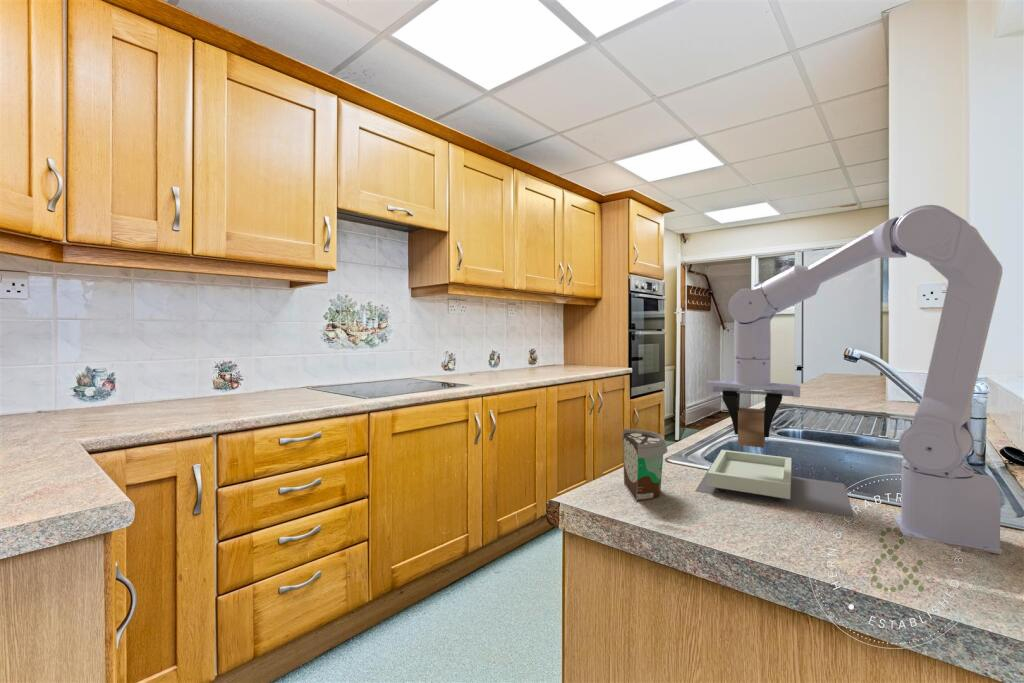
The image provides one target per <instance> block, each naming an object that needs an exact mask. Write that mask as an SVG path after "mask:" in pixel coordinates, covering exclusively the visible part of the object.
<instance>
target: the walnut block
mask: <svg viewBox="0 0 1024 683" xmlns="http://www.w3.org/2000/svg"><path fill="white" fill-rule="evenodd" d="M764 426H765V408H764V409H763V408H750V407H739V410H738V435H737V446H744V447H745V446H746V447H753V448H760V449H761V448H762V449H764V448H765V445H766V437H764Z"/></svg>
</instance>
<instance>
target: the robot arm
mask: <svg viewBox="0 0 1024 683" xmlns="http://www.w3.org/2000/svg"><path fill="white" fill-rule="evenodd" d="M907 254H910V255H912V256H914V257H916V258H919V259H921V260H924V261H926V262H927V263H929V265H930V266H931V267H932V268H933V269H935V270H936V271H937V272H938V273H939V274H941V276H943V278H945V279H946V280H947V282H948V283H947V287H946V292H945V296H944V301H943V305H942V310H941V314H940V319H939V323H938V326H937V331H936V334H935V335H936V336H935V340H934V345H933V349H932V353H931V357H930V363H929V366H928V371H927V376H926V380H925V383H924V384H925V385H924V388H923V393H922V397H921V399H920V401H919V404H918V405H917V408H916V410H915V412H914V416H913V420H912V423H911V424H910V426H909V427H908V428H906V430H904V431H903V432H902V434H901V435H900V437H899V440H898V447H899V452H900V454H901V455H902V457H903V459H902V460H901V500H900V501H901V504H900V506H901V507H900V508H901V510H900V514H897V513H896V514H893V518H894V519H895V520H894V521H895V522H896V524H897V526H898V529H899V530H900V532H901V534H902V535H903V536H904V537H909V538H915V539H920V540H927V541H932V542H938V543H945V544H951V545H956V546H961V547H967V548H972V549H978V550H985V551H986V552H987V553H990V554H997V555H1002V553H1003V552H1002V551H1003V550H1002V549H1001V516H1002V515H1001V512H1002V511H1001V509H1002V508H1001V505H1002V502H1001V495H1000V489H999V486H998V483H997V481H996V479H995V478H994V477H992V476H990V475H986V474H979V473H975V470H974V468H973V467H971V465H970V464H969V463H968V461H967V460H965V459H964V458H966V457H967V456H969V455H970V453H972V451H973V449H974V445H975V438H974V436H973V433H972V431H971V428H970V421H971V417H972V400H973V396H974V391H975V388H976V384H977V379H978V375H979V373H980V372H979V371H980V369H981V363H982V359H983V357H984V356H983V355H984V352H985V351H984V350H985V347H986V342H987V339H988V336H989V334H988V333H989V332H990V331H989V330H990V326H991V322H992V318H993V314H994V309H995V305H996V301H997V297H998V294H999V290H1000V284H1001V281H1002V277H1003V266H1002V264H1001V262H1000V261H999V259H998V258H997V256H996V255H995V254H994V253H993V251H992V249H991V248H990V246H989V245H988V244H987V243H986V241H985V240H984V238H983V237H982V235H981V234H980V233H979V230H978V229H977V228H976V227H974V226H973V225H971V224H970V223H969V222H968V221H967V220H966V219H964V218H963V217H961V216H959V215H958V214H956V213H954V212H953V211H952V210H950V209H948V208H946V207H944V206H941V205H938V204H925V205H919V206H916V207H913V208H911V209H909V210H908V211H906V212H904V213H903V214H902V215H901V216H900V217H899V216H895V217H892V218H890V219H887V220H886V221H884V222H882V223H880V224H879V225H877V226H876V227H874V228H873V229H870V230H869V231H868V232H866V233H864V234H862V235H861V236H858V237H857V238H855V239H854V240H852V241H850V242H848V243H847V244H845V245H843V246H842V247H840V248H838V249H837V250H835V251H833V252H831V253H830V254H828V255H826V256H824V257H822V258H821V259H819V260H817V261H816V262H814V263H812V264H810V265H808V266H806V265H801V264H794V265H793V266H791V265H788V264H787V265H784V266H783V267H781V268H780V269H779V270H780V273H778V274H776V275H774V276H772V277H771V278H769V279H767V280H764V281H757V282H756V283H754V284H753V286H754V288H753V289H752V288H741V289H739V290H738V291H737V292H736V293H734V294H733V295H732V296H731V297H730V299H729V301H728V306H727V307H728V308H727V309H728V313H729V316H730V317H731V319H733V320H734V321H733V322H734V326H733V327H734V329H733V346H734V347H733V357H734V358H733V360H734V361H733V364H734V365H733V372H734V374H733V380H708V381H706V382H707V383H706V384H707V385H706V392H707V393H722V395H721V399H722V401H723V403H724V404H725V407H726V410H727V411H728V414H729V417H730V418H731V422H732V426H733V431H734V435H737V436H738V410H739V409H740V402H741V401H740V399H741V394H744V395H745V394H746V395H747V394H748V395H760V396H761V395H763V396H764V395H765V397H764V409H765V426H764V437H765V438H770V431H771V425H772V423H773V421H774V417H775V414H776V413H777V410H778V408H779V406H780V404H781V403H782V401H783V397H792V398H801V385H800V384H793V383H790V384H789V383H780V382H779V383H778V382H771V359H772V358H771V357H772V356H771V352H772V351H771V347H772V346H771V343H772V342H771V341H772V340H771V336H772V335H771V334H772V332H771V321H772V320H773V318H774V317H775V316H776V314H778V313H781V312H782V311H785V310H787V309H788V308H791V307H794V306H795V305H797V304H799V303H801V302H804V301H805V300H808V299H810V298H812V297H814V296H816V294H818V290H819V289H820V286H821V284H822V283H824V282H827V281H829V280H831V279H833V278H836V277H838V276H841V275H842V274H845V273H847V272H849V271H852V270H853V269H855V268H858V267H860V266H862V265H865V264H867V263H869V262H871V261H874V260H875V259H876V260H877V259H888V258H889V259H893V258H894V259H895V258H907V256H908V255H907Z"/></svg>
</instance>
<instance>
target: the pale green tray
mask: <svg viewBox="0 0 1024 683" xmlns="http://www.w3.org/2000/svg"><path fill="white" fill-rule="evenodd" d="M710 466H711V468H710V467H709V468H710V469H709V468H708V469H709V471H708V470H707V471H708V473H707V472H706V473H707V486H710V487H716V488H718V491H722V492H725V490H726V489H729V490H735V491H742V492H748V493H754V494H760V495H767V496H772V500H778V501H779V500H780V498H786V499H790V492H791V477H792V457H787V456H777V455H769V454H760V453H754V452H753V453H752V452H745V451H735V450H729V449H728V450H727V449H720V452H719V453H718V454H717V456H716V458H715V459H714V461H713V462H712V465H710Z"/></svg>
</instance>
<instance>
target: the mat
mask: <svg viewBox="0 0 1024 683" xmlns="http://www.w3.org/2000/svg"><path fill="white" fill-rule="evenodd" d="M711 466H712V465H710V466H709V468H708V469H707V471H706V473H705V474H704V476H703V477H702V479H701V481H700V482H699V484H698V486H697V487H696V489H695V490H694V492H697V493H703V494H708V495H715V496H721V497H725V498H726V497H727V498H733V499H739V500H745V501H750V502H755V503H756V502H758V503H762V504H763V503H764V504H768V505H769V504H770V505H775V506H781V507H786V508H793V509H799V510H804V511H811V512H817V513H822V514H828V515H834V516H835V515H836V516H841V517H845V518H846V517H848V518H852V519H853V518H855V517H854V513H853V510H852V506H851V502H850V500H849V496H848V492H847V488H846V486H845V483H841V482H833V481H827V480H818V479H813V478H804V477H799V476H798V477H797V476H791V492H790V499H786V498H780V500H779V501H778V500H772V496H767V495H760V494H754V493H748V492H742V491H735V490H729V489H726V490H725V492H722V491H718V488H716V487H710V486H707V473H708V471H709V469H710V468H711ZM822 486H824V487H822ZM825 487H828V488H825Z"/></svg>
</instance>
